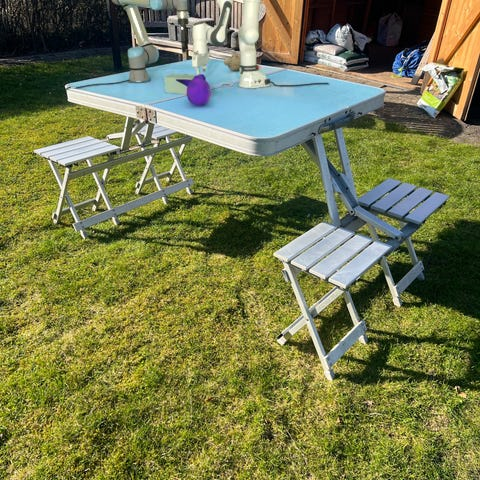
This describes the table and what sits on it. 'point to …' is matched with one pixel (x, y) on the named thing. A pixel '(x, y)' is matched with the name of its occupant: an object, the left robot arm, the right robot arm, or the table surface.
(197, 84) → the toy
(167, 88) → the cabinet
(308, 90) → the table surface
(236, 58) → the teapot
